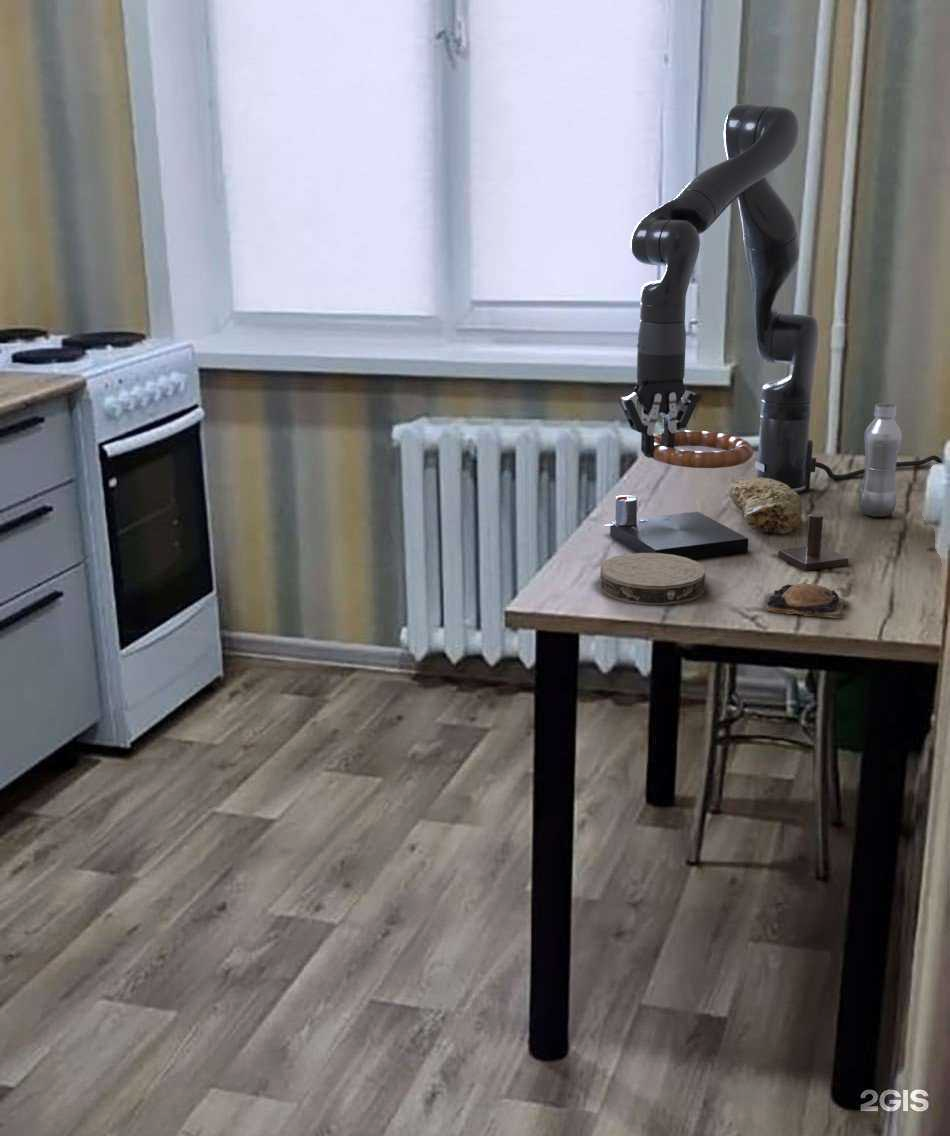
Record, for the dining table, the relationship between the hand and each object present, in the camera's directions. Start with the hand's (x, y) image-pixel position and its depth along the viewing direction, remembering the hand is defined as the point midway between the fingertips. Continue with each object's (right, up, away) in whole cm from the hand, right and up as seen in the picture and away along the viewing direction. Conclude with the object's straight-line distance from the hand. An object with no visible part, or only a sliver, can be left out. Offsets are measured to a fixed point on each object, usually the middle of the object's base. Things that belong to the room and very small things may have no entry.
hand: (657, 455), depth 221 cm
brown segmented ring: (+7, +1, +2) cm, 7 cm away
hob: (+3, -14, +9) cm, 17 cm away
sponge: (+22, -10, +22) cm, 32 cm away
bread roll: (+19, -24, -21) cm, 37 cm away
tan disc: (-2, -21, -12) cm, 24 cm away
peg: (+25, -17, 0) cm, 30 cm away
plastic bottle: (+42, -9, +24) cm, 49 cm away
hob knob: (-4, -11, +12) cm, 16 cm away
